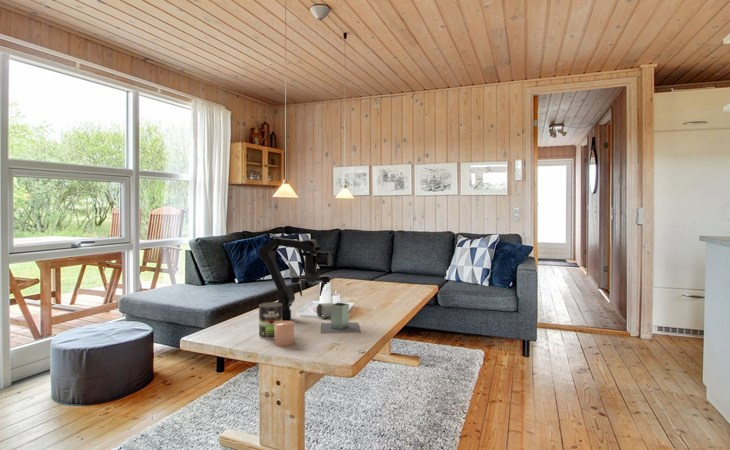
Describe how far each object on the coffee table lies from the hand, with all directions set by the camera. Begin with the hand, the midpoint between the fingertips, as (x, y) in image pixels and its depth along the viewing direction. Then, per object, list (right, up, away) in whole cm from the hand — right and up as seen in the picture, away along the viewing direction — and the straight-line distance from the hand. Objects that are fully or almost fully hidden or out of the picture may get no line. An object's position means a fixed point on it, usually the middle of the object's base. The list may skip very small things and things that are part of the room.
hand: (310, 296), depth 201 cm
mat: (+15, -14, -10) cm, 23 cm away
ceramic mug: (+6, -13, +11) cm, 18 cm away
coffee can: (-15, -14, -21) cm, 29 cm away
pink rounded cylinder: (-7, -15, -32) cm, 36 cm away
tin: (+15, -13, -10) cm, 22 cm away
